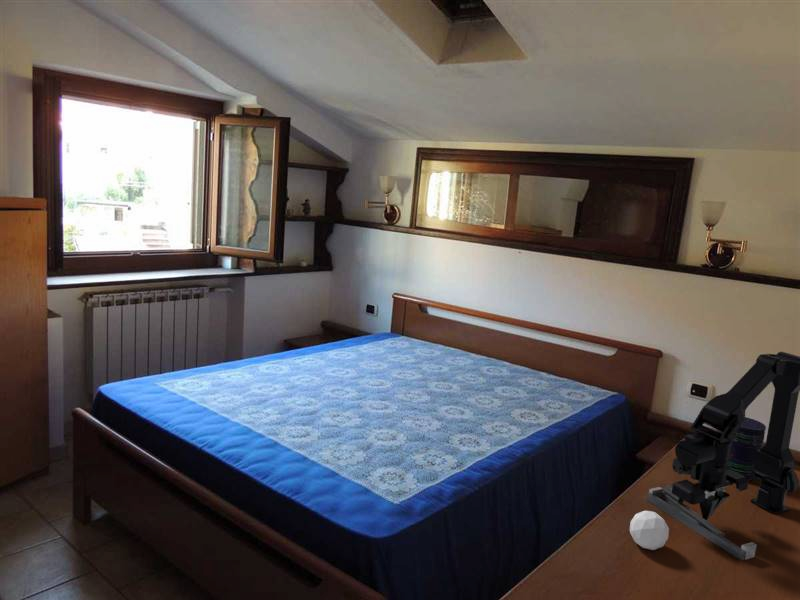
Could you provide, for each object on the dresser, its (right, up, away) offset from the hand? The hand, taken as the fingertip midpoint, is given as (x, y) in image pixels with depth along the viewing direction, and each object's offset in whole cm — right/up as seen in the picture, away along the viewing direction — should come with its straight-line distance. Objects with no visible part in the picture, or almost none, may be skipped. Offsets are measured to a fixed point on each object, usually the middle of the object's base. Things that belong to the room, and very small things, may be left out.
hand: (705, 519), depth 146 cm
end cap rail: (-2, -1, -1) cm, 3 cm away
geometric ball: (-18, -2, -11) cm, 21 cm away
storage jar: (+23, +2, +30) cm, 38 cm away
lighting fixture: (-2, -1, +3) cm, 4 cm away
